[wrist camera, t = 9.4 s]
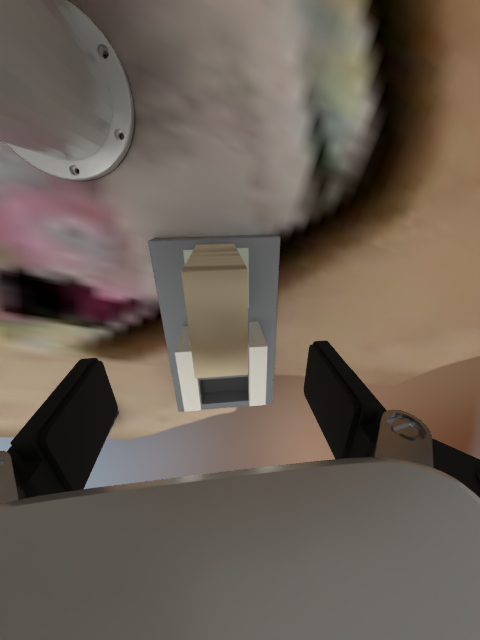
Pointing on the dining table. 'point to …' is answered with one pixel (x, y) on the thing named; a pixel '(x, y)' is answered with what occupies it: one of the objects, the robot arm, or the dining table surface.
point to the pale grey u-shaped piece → (255, 369)
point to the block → (217, 310)
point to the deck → (262, 307)
